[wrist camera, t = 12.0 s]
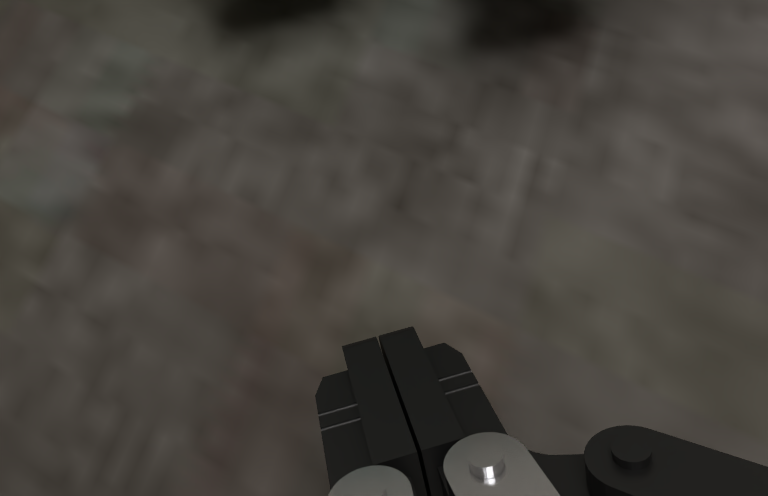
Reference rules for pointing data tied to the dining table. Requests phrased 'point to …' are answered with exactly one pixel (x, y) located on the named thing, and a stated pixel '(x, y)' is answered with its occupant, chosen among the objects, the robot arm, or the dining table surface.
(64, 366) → the dining table surface
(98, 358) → the dining table surface
